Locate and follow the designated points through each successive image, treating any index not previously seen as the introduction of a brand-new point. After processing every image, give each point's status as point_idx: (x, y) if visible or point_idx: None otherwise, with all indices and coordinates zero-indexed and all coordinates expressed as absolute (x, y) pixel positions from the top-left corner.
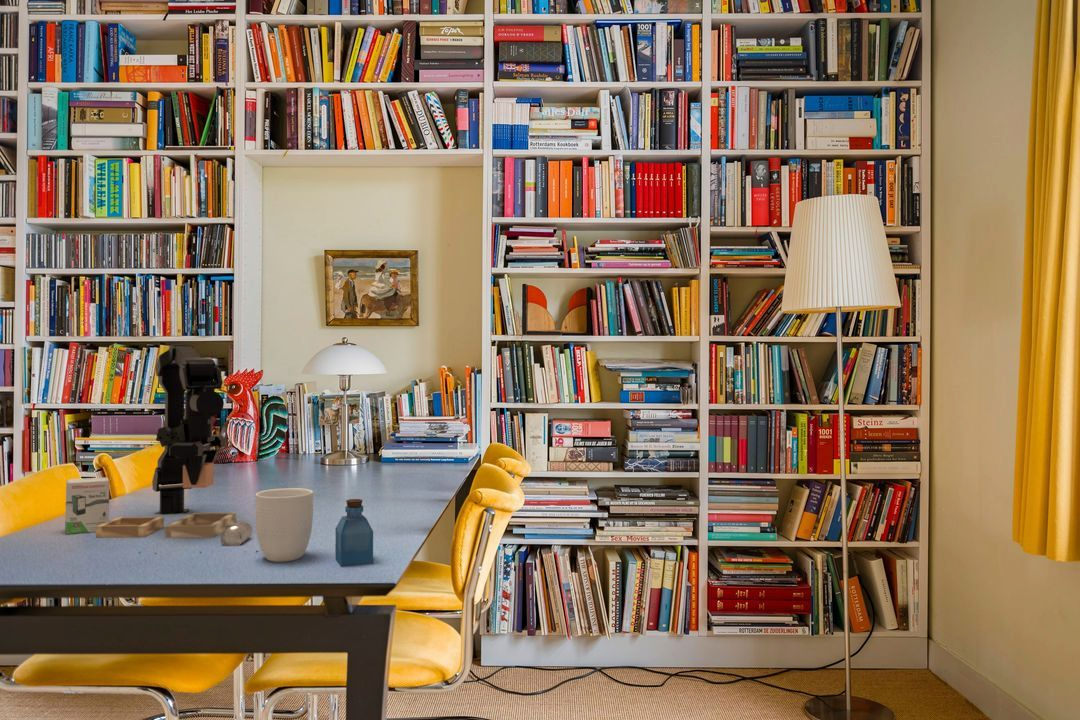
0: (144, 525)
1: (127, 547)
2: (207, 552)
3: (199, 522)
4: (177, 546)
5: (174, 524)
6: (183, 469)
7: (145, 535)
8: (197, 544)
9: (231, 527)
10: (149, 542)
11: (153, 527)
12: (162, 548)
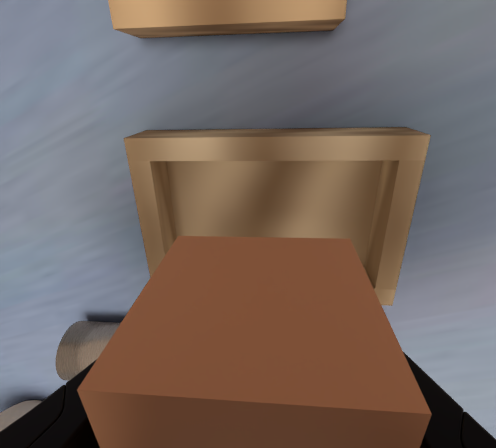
0: (127, 22)
1: (23, 34)
2: (42, 294)
3: (382, 168)
4: (79, 202)
5: (167, 157)
6: (110, 347)
7: (149, 34)
8: (113, 247)
9: (62, 373)
10: (109, 83)
11: (223, 28)
12: (46, 169)
